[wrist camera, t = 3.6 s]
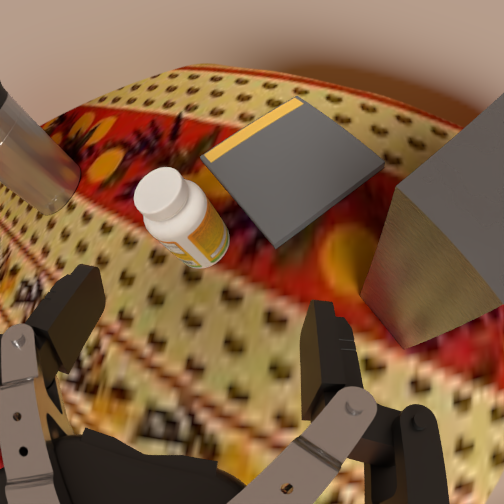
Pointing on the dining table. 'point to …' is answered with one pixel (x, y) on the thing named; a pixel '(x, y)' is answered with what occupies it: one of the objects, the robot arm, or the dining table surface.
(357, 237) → the dining table surface
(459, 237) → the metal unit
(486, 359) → the dining table surface
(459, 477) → the dining table surface
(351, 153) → the mat
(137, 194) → the supplement bottle
